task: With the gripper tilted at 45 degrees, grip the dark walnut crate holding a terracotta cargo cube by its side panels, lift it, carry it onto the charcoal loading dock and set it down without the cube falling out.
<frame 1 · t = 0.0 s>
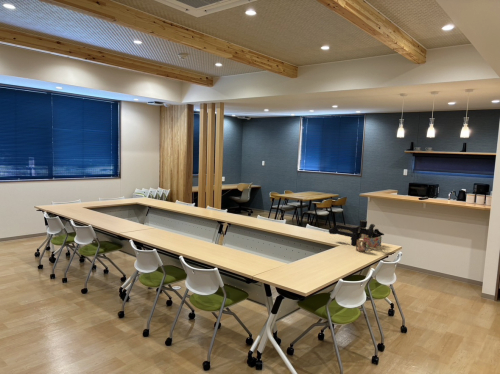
hand: (382, 235, 324), 17 cm above the table, tool horizontal, fingers open, 9 cm apart
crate: (360, 252, 323), on the table, touching cargo
cargo: (360, 251, 323), point 1 cm above the table, touching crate
dock: (366, 250, 332), on the table
stack of blocks: (371, 246, 348), on the table
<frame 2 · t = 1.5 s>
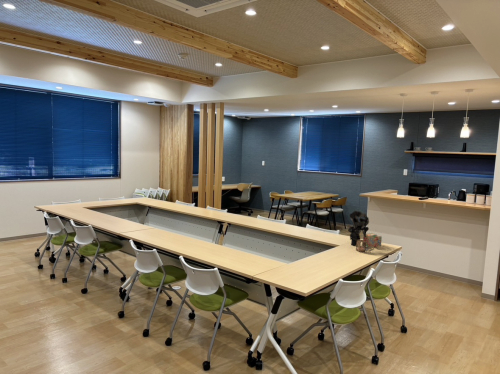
hand: (361, 237, 324), 14 cm above the table, tool tilted 45°, fingers open, 9 cm apart
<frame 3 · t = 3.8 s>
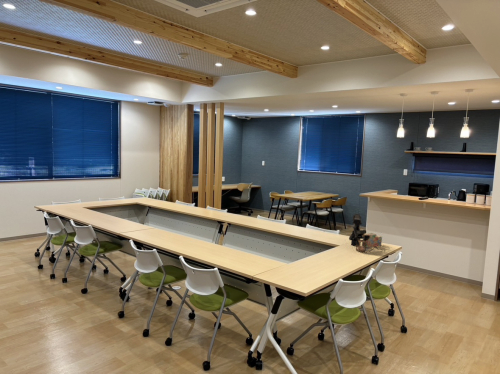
hand: (361, 245, 321), 7 cm above the table, tool tilted 45°, fingers closed on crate, 6 cm apart
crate: (360, 252, 323), on the table, touching cargo, gripper
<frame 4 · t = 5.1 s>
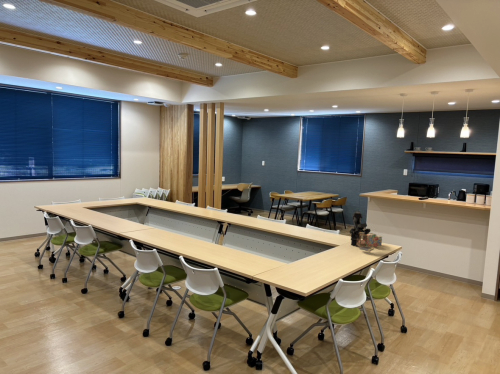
hand: (362, 239, 320), 13 cm above the table, tool tilted 45°, fingers closed on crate, 6 cm apart
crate: (361, 245, 322), point 6 cm above the table, touching cargo, gripper
cargo: (361, 244, 322), point 7 cm above the table, touching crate
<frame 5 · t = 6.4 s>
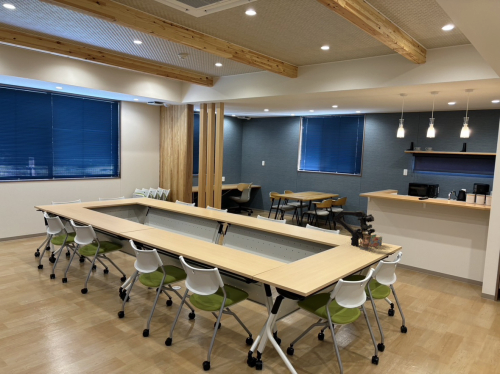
hand: (366, 239, 328), 11 cm above the table, tool tilted 30°, fingers closed on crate, 6 cm apart
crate: (363, 245, 331), point 4 cm above the table, tilted 14°, touching cargo, gripper
cargo: (364, 244, 331), point 5 cm above the table, tilted 14°, touching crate
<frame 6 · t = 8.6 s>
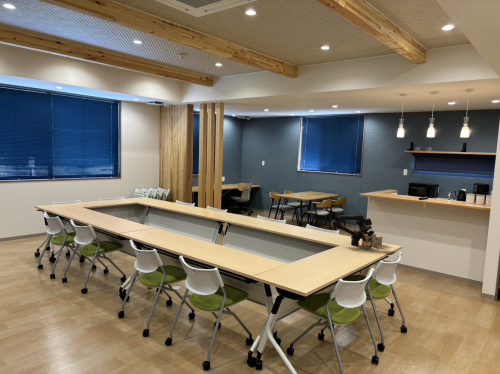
hand: (368, 241, 329), 9 cm above the table, tool tilted 45°, fingers closed on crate, 6 cm apart
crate: (366, 247, 331), point 2 cm above the table, touching cargo, gripper
cargo: (366, 246, 331), point 3 cm above the table, touching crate
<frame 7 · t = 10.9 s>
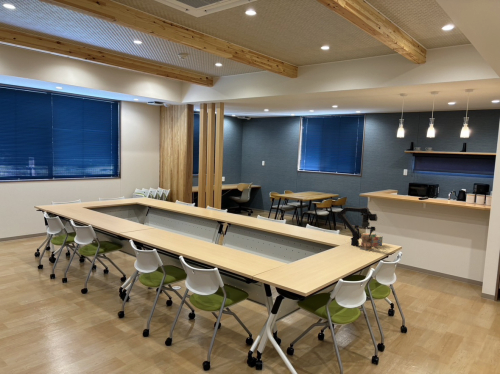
hand: (364, 236, 329), 13 cm above the table, tool tilted 20°, fingers open, 9 cm apart
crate: (366, 248, 331), point 2 cm above the table, touching cargo, dock
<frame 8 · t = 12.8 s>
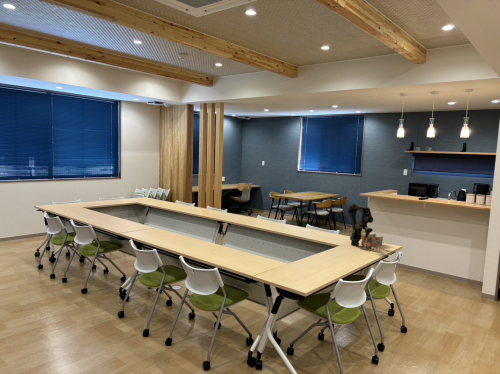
hand: (362, 236, 328), 13 cm above the table, tool pointing down, fingers open, 9 cm apart
at the end: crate 0.1 cm from the target spot, point 1.6 cm above the table; cargo 0.0 cm off-centre on the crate, point 1.0 cm above the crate's base; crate tilted 1° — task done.
